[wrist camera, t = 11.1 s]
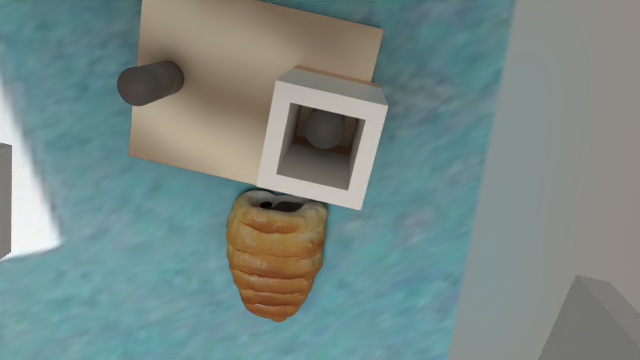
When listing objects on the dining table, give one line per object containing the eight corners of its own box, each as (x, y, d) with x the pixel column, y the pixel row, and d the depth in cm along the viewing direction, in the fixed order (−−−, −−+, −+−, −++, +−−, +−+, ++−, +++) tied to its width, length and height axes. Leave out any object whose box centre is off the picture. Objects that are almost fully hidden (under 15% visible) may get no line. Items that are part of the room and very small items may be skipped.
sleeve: (281, 145, 30) (256, 186, 22) (297, 64, 28) (275, 80, 21) (359, 163, 30) (360, 210, 23) (379, 83, 28) (388, 106, 21)
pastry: (318, 312, 36) (313, 345, 32) (228, 301, 36) (214, 332, 32) (330, 194, 33) (326, 215, 29) (232, 183, 33) (216, 202, 29)
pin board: (155, -24, 29) (106, -35, 23) (382, 28, 29) (389, 30, 23) (138, 149, 32) (91, 176, 27) (341, 196, 32) (338, 233, 27)
